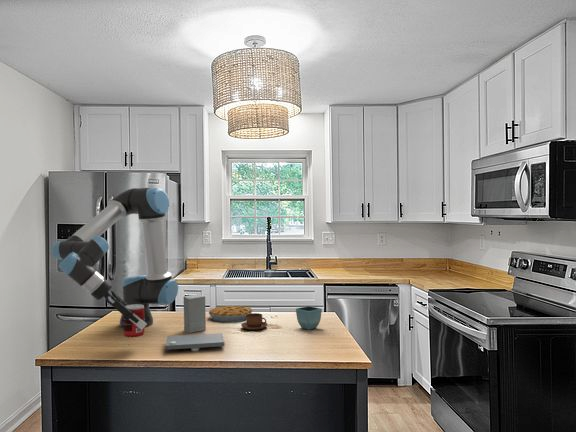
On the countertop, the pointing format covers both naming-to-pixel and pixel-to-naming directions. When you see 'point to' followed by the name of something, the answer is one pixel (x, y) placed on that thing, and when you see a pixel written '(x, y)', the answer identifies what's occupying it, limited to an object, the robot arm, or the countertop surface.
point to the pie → (229, 313)
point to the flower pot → (308, 317)
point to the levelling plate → (194, 341)
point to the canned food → (129, 326)
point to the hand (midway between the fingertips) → (143, 324)
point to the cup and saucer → (254, 322)
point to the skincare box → (194, 313)
